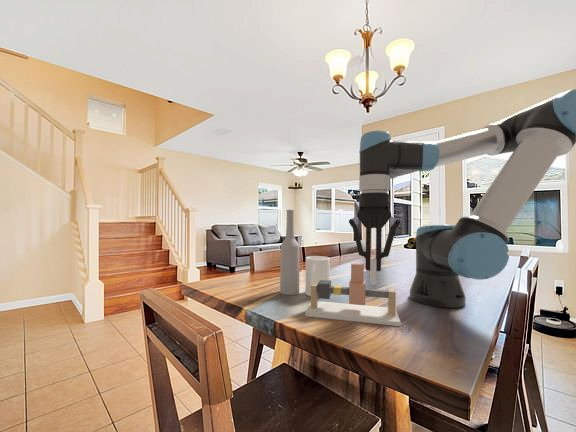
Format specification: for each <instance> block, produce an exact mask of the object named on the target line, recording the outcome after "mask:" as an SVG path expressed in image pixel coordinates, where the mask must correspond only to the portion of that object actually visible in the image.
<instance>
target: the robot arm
mask: <svg viewBox="0 0 576 432" xmlns="http://www.w3.org/2000/svg"><path fill="white" fill-rule="evenodd" d="M359 141H360V142H359V143H360V144H359V152H358V153H359V179H358V180H359V182H358V183H359V184H358V185H359V188H358V191H359V192H361V193H359V195H358V196H359V197H358V211H357V212H356V215H355V216H354V217H353V218H350V219H348V223H349V225H350V226H351V228H352V231H353V236H354V239H355V244H356V247H357V252H358V255H359V256H361V257H363V258H364V259H365V270H366V271H367V272H369V284H370V285H374V286H376V285H377V272H381V270H382V259H384V258H388V257H389V256H390V251H391V249H392V245H393V241H394V237H395V233H396V231H397V230H396V229H397V228H398V227H399V225H400V224H401V221H400V219H397V218H396V217H394V216H392V212H391V211H390V194H389V193H388V192H389V191H390V189H391V187H390V186H391V185H390V184H391V182H390V181H391V180H393V179H395V178H397V177H401V176H405V175H409V174H411V173H412V174H413V173H417V172H421V173H422V172H427V171H428V172H429V171H432V170H434V169H435V168H437V167H439V166H444V165H445V166H446V165H448V164H452V163H455V162H456V163H457V162H460V161H465V160H469V159H472V158H476V157H480V156H483V155H484V156H485V155H487V156H491V157H492V156H497V155H502V154H506V153H507V154H508V153H511V155H510V157H509V158H508V159H507V161H506V162H505V164H504V165H503V167H502V168H501V170H500V171H499V173H497V175H496V177H495V179H493V181H492V183H491V184H490V186H489V187H488V189H487V190H486V191H485V193H484V195H482V197H481V198H480V200H479V202H478V203H477V204H476V206H475V208H473V210H472V212H471V214H470V215H466V216H461V217H460V218H459V219H458V221H457V223H456V224H436V225H435V224H432V225H424V226H423V225H421V226H419V227H418V228H417V229H416V235H415V275H414V278H413V281H412V282H411V283H412V284H411V286H410V289H409V298H410V299H411V300H413V301H414V302H417V303H419V304H422V305H427V306H432V307H438V308H450V309H452V308H454V309H456V308H463V307H464V306H466V302H467V300H466V295H465V291H464V288H463V286H462V282H461V281H460V277H463V278H466V279H472V280H479V281H480V280H482V281H483V280H487V279H492V278H494V277H495V276H498V275H499V274H500V273H501V272H502V271H503V270H504V269H505V268H506V267H507V264H508V262H509V260H510V259H509V258H510V255H509V254H508V252H509V251H510V250H509V247H508V242H509V241H510V238H509V236H508V233H507V231H508V230H509V228H510V227H511V225H512V223H513V222H514V221H515V219H516V218H517V216H518V215H519V214H520V212H521V210H522V209H523V207H524V206H525V204H527V202H528V200H529V199H530V197H531V196H532V194H533V193H534V191H535V190H536V188H537V187H538V186H539V184H540V183H541V181H542V179H543V178H544V176H545V175H546V174H547V173H548V171H549V169H550V168H551V167H552V165H553V163H554V162H555V160H556V159H557V158H558V157H561V156H565V155H567V154H568V153H569V152H570V151H571V150H572V149H573V148H574V146H575V144H576V88H574V89H570V90H567V91H565V92H560V93H557V94H556V95H555V96H553V97H551V98H548V99H546V100H544V101H541V102H539V103H537V104H534V105H532V106H529V107H527V108H525V109H523V110H520V111H518V112H516V113H514V114H513V115H510V116H509V117H506V118H504V119H501V120H500V121H497V122H494V123H490V124H487V125H485V126H484V127H483V128H482V129H480V130H477V131H472V132H468V133H465V134H461V135H457V136H452V137H449V138H445V139H441V140H436V141H428V140H427V141H424V140H421V141H420V140H413V141H412V140H392V138H391V133H390V132H389V131H387V130H386V131H384V130H380V129H379V130H372V131H371V130H370V131H367V132H365V133H363V135H362V136H361V137H360V140H359ZM359 222H360V223H361V224H362V226H363V227H364V228H365V250H364V249H363V244H362V241H361V237H360V231H359V228H358V225H359ZM388 222H389V226H390V227H389V229H388V234H387V238H386V240H385V244H384V248H383V251H382V235H383V234H382V231H383V228H384V227H385V225H386V224H387V223H388ZM372 229H375V257H371V253H372V251H371V250H372Z"/></svg>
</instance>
